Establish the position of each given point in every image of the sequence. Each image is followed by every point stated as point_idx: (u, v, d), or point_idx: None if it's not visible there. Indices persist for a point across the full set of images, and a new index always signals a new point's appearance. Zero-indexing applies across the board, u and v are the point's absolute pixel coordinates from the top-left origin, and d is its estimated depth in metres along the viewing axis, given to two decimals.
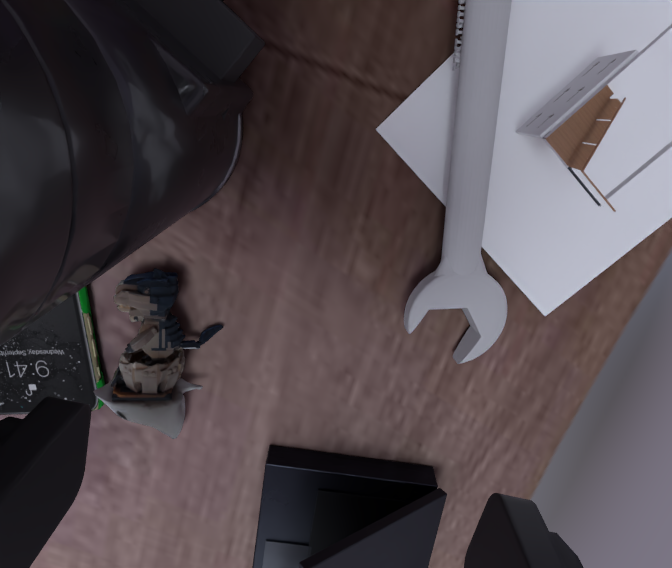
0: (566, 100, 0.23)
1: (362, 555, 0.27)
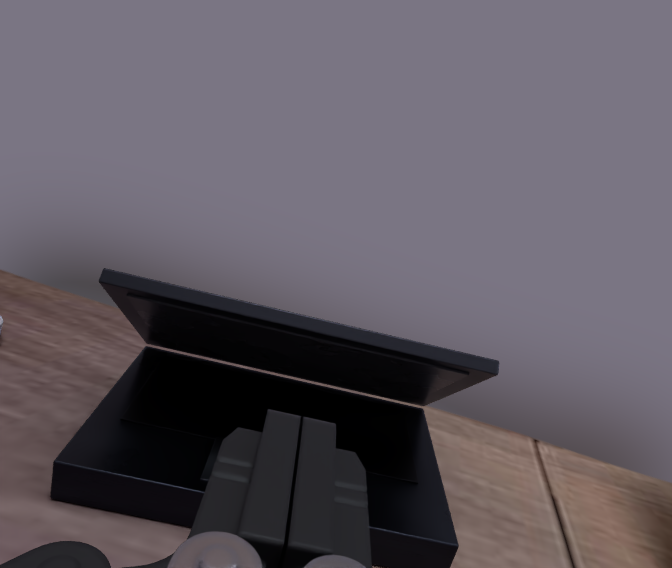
0: None
1: None
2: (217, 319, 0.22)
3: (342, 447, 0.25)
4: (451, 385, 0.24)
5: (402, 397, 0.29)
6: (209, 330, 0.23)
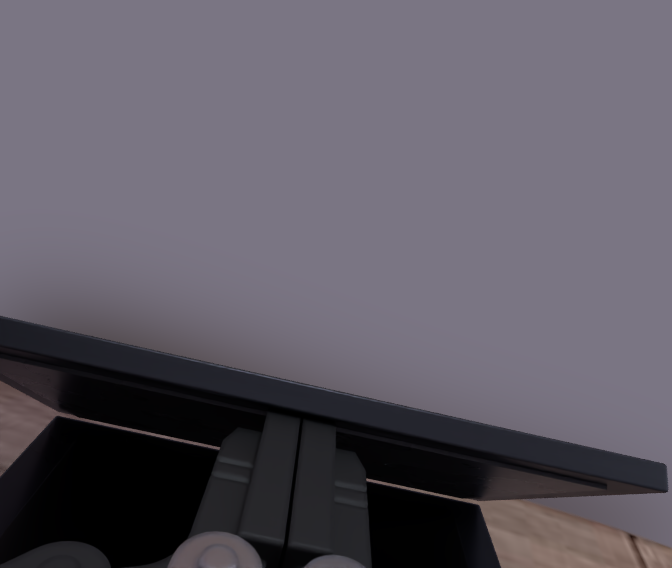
0: None
1: None
2: (138, 391, 0.11)
3: None
4: None
5: (452, 493, 0.19)
6: (134, 404, 0.13)
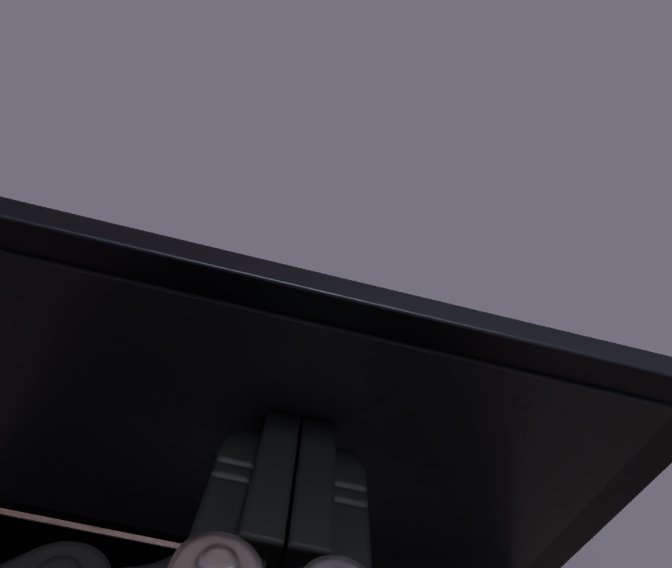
0: None
1: None
2: (130, 299, 0.10)
3: None
4: (612, 486, 0.12)
5: None
6: (107, 372, 0.11)
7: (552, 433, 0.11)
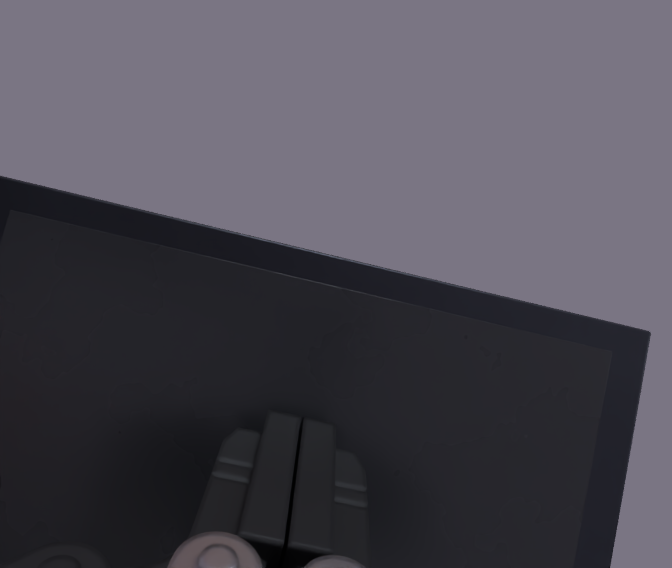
0: None
1: None
2: (169, 264, 0.12)
3: None
4: (599, 469, 0.13)
5: None
6: (122, 354, 0.12)
7: (526, 392, 0.12)
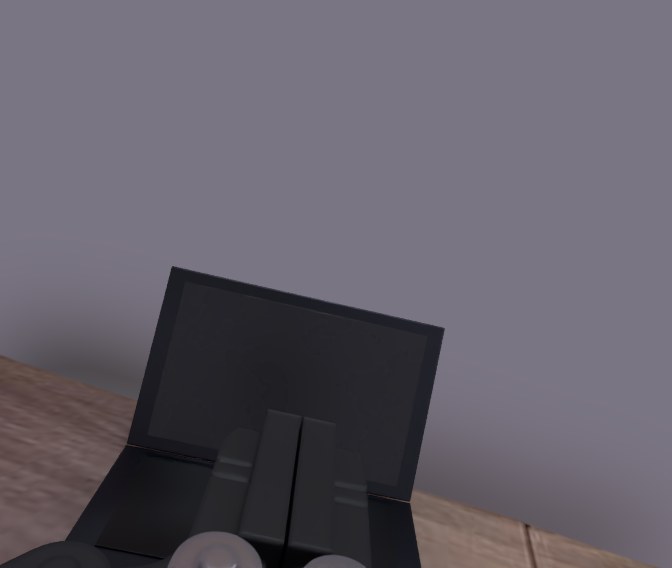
0: None
1: None
2: (247, 302, 0.30)
3: None
4: (421, 384, 0.31)
5: (387, 465, 0.30)
6: (229, 338, 0.30)
7: (390, 353, 0.31)
